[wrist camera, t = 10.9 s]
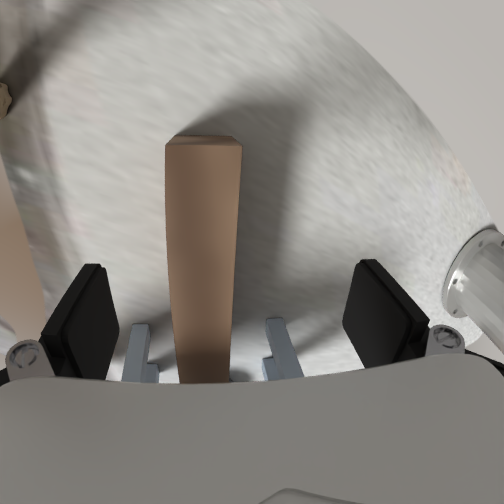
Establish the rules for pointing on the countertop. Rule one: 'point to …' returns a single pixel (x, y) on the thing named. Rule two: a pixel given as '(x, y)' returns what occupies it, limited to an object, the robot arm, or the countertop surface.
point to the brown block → (202, 251)
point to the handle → (4, 100)
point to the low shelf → (273, 368)
